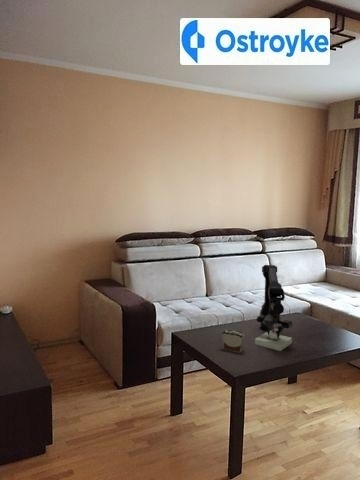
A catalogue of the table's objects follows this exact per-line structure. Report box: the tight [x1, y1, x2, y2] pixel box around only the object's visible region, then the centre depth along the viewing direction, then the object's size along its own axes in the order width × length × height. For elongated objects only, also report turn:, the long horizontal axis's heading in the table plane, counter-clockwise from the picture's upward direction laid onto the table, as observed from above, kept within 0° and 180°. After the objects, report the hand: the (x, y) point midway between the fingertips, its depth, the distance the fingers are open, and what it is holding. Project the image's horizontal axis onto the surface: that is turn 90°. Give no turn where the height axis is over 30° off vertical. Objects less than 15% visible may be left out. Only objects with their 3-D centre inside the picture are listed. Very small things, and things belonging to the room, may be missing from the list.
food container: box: [221, 328, 245, 354], centre depth 209 cm, size 12×6×10 cm, turn 59°
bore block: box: [254, 331, 293, 352], centre depth 218 cm, size 15×15×3 cm
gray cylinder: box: [269, 327, 278, 341], centre depth 218 cm, size 5×5×8 cm
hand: (273, 336), depth 218 cm, fingers closed on gray cylinder, 5 cm apart
